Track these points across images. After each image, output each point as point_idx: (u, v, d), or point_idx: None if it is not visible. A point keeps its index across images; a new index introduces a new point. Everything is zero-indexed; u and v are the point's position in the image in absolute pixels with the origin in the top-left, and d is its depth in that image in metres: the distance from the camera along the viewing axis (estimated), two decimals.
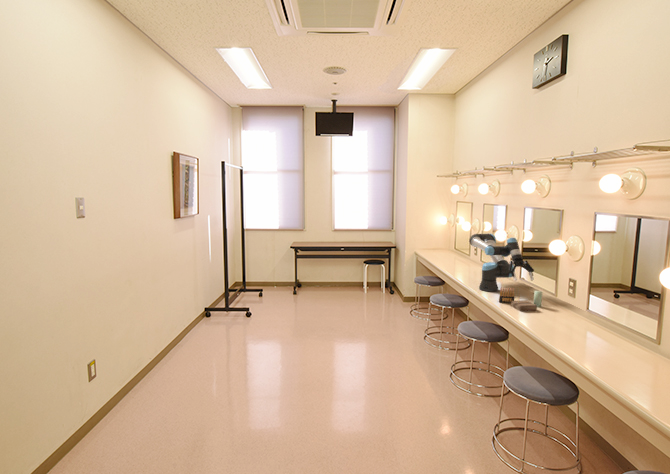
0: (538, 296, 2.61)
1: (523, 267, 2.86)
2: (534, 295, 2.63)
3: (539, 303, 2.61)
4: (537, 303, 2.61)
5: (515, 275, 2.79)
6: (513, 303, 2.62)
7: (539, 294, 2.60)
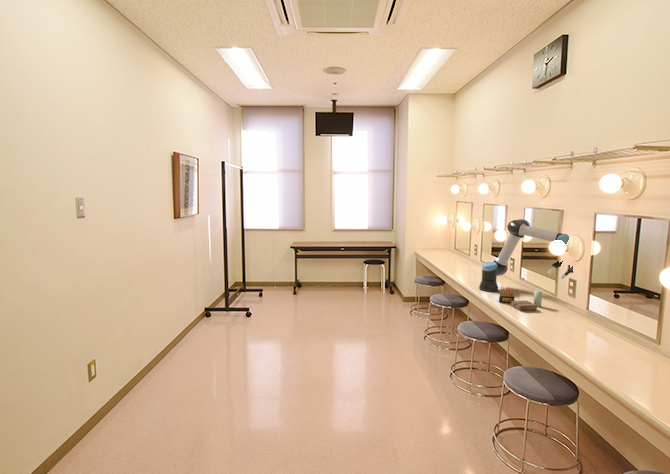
0: (538, 296, 2.61)
1: (561, 263, 2.65)
2: (534, 295, 2.63)
3: (539, 303, 2.61)
4: (537, 303, 2.61)
5: (565, 275, 2.55)
6: (513, 303, 2.62)
7: (539, 294, 2.60)
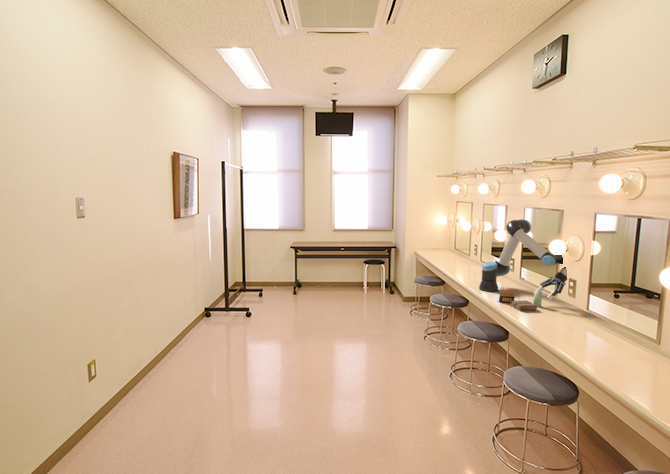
0: (538, 296, 2.61)
1: (549, 282, 2.65)
2: (534, 295, 2.63)
3: (539, 303, 2.61)
4: (537, 303, 2.61)
5: None
6: (513, 303, 2.62)
7: (539, 294, 2.60)
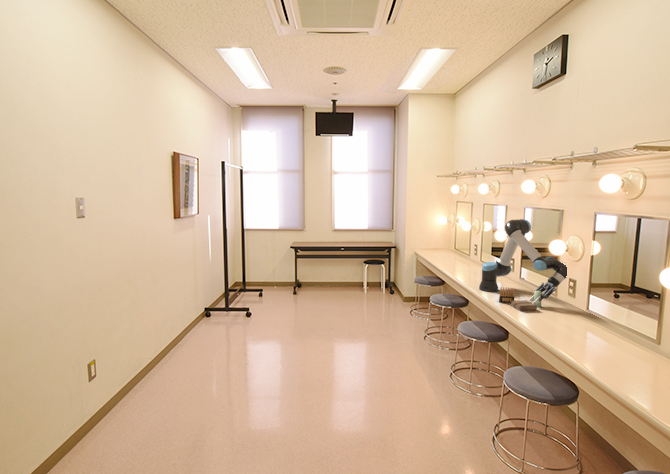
0: (538, 296, 2.61)
1: (542, 288, 2.64)
2: (534, 295, 2.63)
3: (539, 303, 2.61)
4: None
5: (539, 300, 2.61)
6: (513, 303, 2.62)
7: (539, 294, 2.60)
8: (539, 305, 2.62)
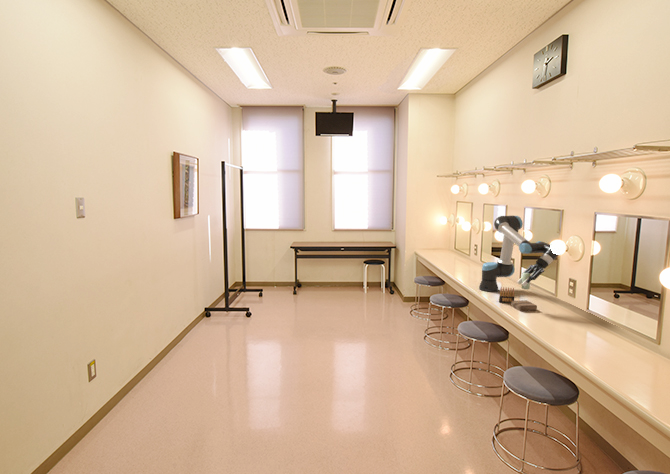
0: (526, 278, 2.54)
1: (531, 270, 2.58)
2: (522, 277, 2.57)
3: (527, 285, 2.55)
4: (526, 285, 2.55)
5: (527, 282, 2.54)
6: (513, 303, 2.62)
7: (527, 276, 2.54)
8: (527, 287, 2.55)
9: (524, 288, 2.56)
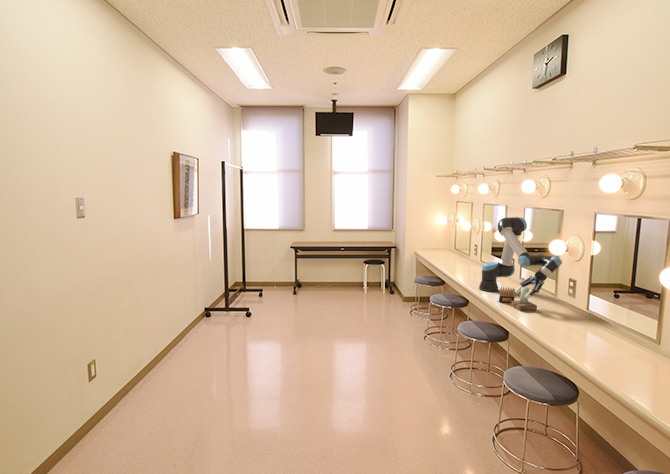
0: (525, 293, 2.56)
1: (528, 281, 2.60)
2: (521, 291, 2.58)
3: (526, 300, 2.56)
4: (524, 299, 2.56)
5: None
6: (513, 303, 2.62)
7: (526, 291, 2.55)
8: (526, 302, 2.56)
9: (522, 303, 2.57)
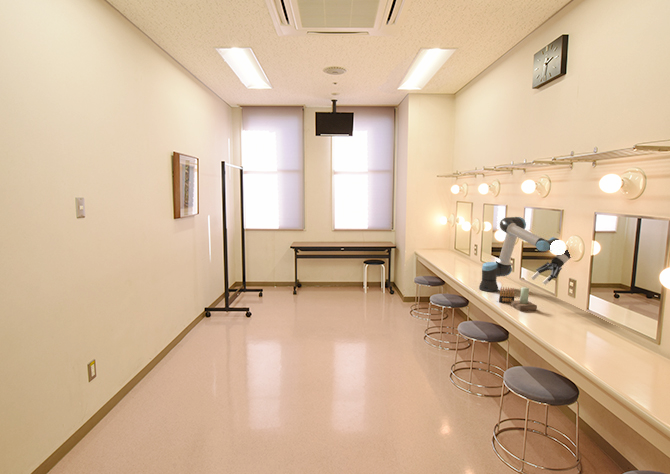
0: (525, 292, 2.56)
1: (545, 268, 2.60)
2: (521, 291, 2.58)
3: (526, 300, 2.56)
4: (524, 299, 2.56)
5: (548, 281, 2.51)
6: (513, 303, 2.62)
7: (526, 290, 2.55)
8: (526, 302, 2.56)
9: (522, 303, 2.57)
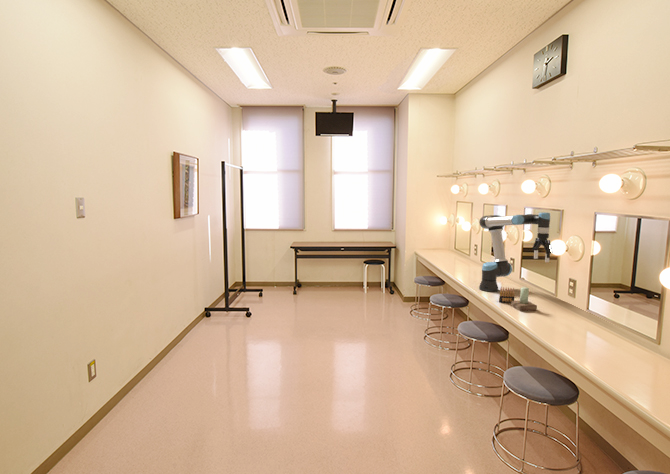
0: (525, 293, 2.55)
1: (538, 245, 2.76)
2: (521, 292, 2.58)
3: (526, 300, 2.56)
4: (524, 300, 2.56)
5: None
6: (513, 303, 2.62)
7: (526, 291, 2.55)
8: (526, 302, 2.56)
9: (523, 303, 2.57)
